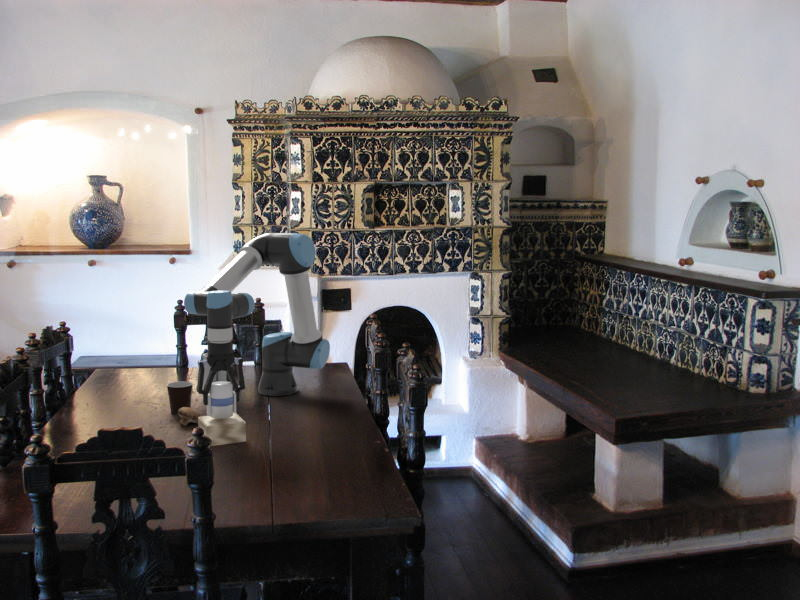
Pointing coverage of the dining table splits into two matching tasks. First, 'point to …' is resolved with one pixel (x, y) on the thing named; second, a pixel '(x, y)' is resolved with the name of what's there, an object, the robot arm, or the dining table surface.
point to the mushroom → (188, 415)
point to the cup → (219, 375)
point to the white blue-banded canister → (221, 399)
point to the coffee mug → (179, 395)
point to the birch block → (223, 429)
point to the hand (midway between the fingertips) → (221, 413)
